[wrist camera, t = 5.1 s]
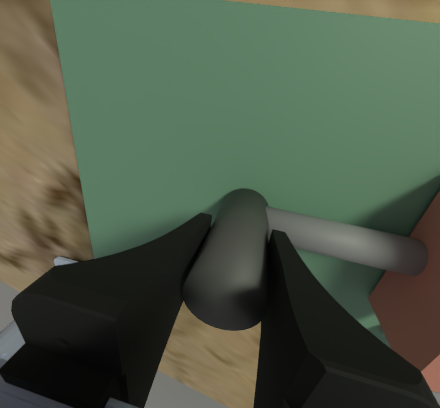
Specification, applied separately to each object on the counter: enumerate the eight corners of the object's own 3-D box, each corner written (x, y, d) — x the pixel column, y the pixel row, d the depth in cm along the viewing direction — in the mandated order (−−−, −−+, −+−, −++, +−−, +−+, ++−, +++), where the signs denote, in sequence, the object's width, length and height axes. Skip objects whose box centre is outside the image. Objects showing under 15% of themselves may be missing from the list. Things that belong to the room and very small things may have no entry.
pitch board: (517, 381, 17) (531, 397, 16) (103, 266, 21) (96, 273, 20) (963, 89, 8) (1053, 89, 7) (63, -11, 12) (47, -19, 11)
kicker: (406, 308, 15) (503, 463, 8) (213, 258, 16) (176, 359, 10) (507, 182, 10) (849, 310, 4) (233, 133, 12) (192, 173, 6)
